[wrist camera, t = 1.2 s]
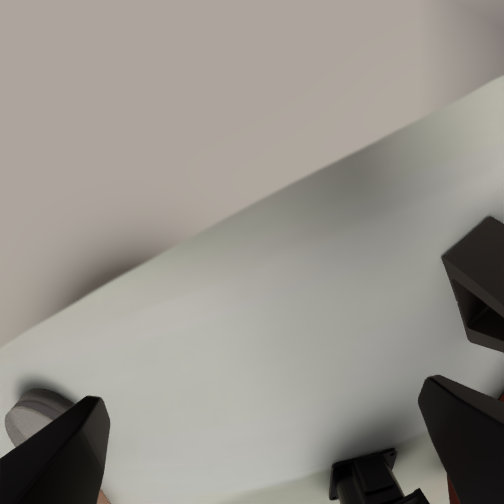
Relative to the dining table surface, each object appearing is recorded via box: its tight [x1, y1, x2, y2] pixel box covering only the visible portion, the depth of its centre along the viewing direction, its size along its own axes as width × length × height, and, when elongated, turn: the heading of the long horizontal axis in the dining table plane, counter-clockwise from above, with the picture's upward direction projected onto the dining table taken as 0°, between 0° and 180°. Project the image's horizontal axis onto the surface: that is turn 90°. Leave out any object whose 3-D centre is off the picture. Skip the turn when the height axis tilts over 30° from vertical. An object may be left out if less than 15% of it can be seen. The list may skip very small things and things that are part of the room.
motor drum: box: [5, 389, 75, 447], centre depth 20 cm, size 9×9×4 cm
